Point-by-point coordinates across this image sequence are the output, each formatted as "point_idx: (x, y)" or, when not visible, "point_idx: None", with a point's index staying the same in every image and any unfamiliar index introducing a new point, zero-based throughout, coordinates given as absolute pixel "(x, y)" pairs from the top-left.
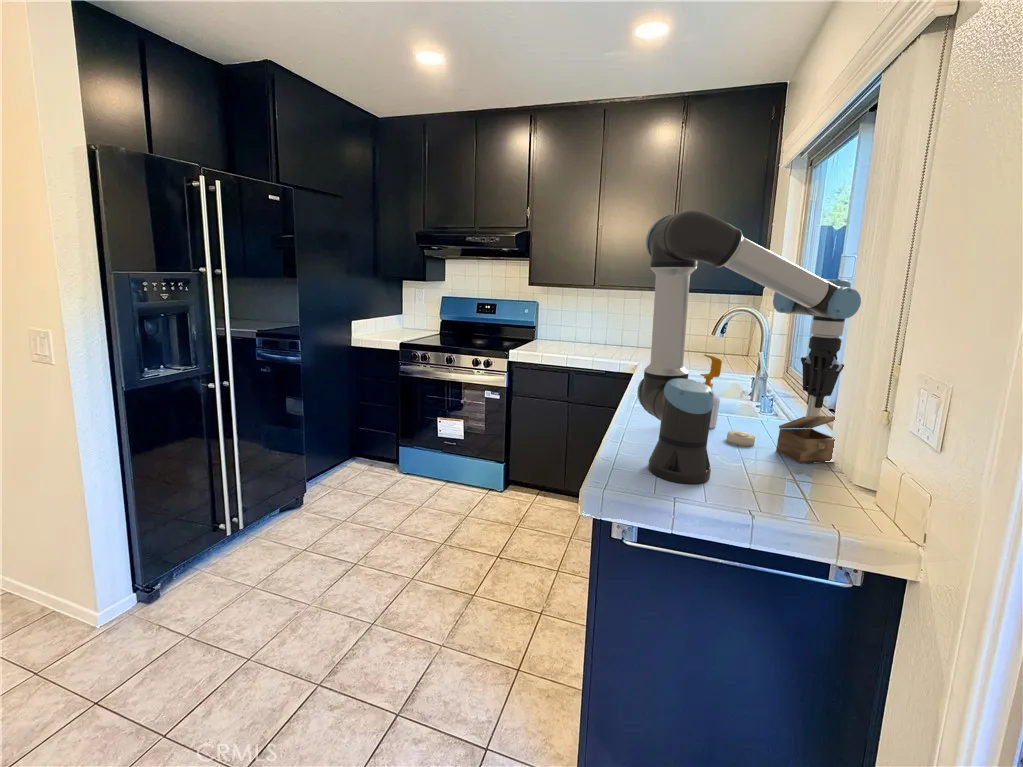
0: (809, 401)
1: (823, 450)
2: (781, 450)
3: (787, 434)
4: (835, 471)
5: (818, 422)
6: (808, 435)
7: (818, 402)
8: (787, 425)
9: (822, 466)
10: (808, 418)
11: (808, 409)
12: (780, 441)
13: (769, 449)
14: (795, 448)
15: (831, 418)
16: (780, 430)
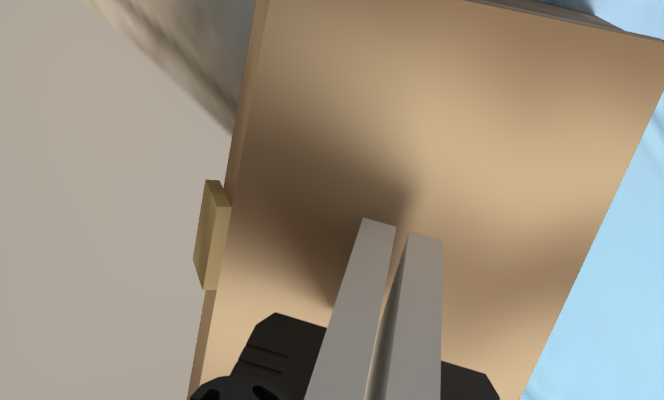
0: (417, 370)
1: None
2: (541, 3)
3: (522, 8)
4: (154, 53)
5: None
6: None
7: (241, 369)
8: (553, 16)
9: (241, 58)
10: (256, 28)
11: (418, 290)
12: (583, 18)
13: (653, 2)
14: None
15: (196, 349)
16: None
